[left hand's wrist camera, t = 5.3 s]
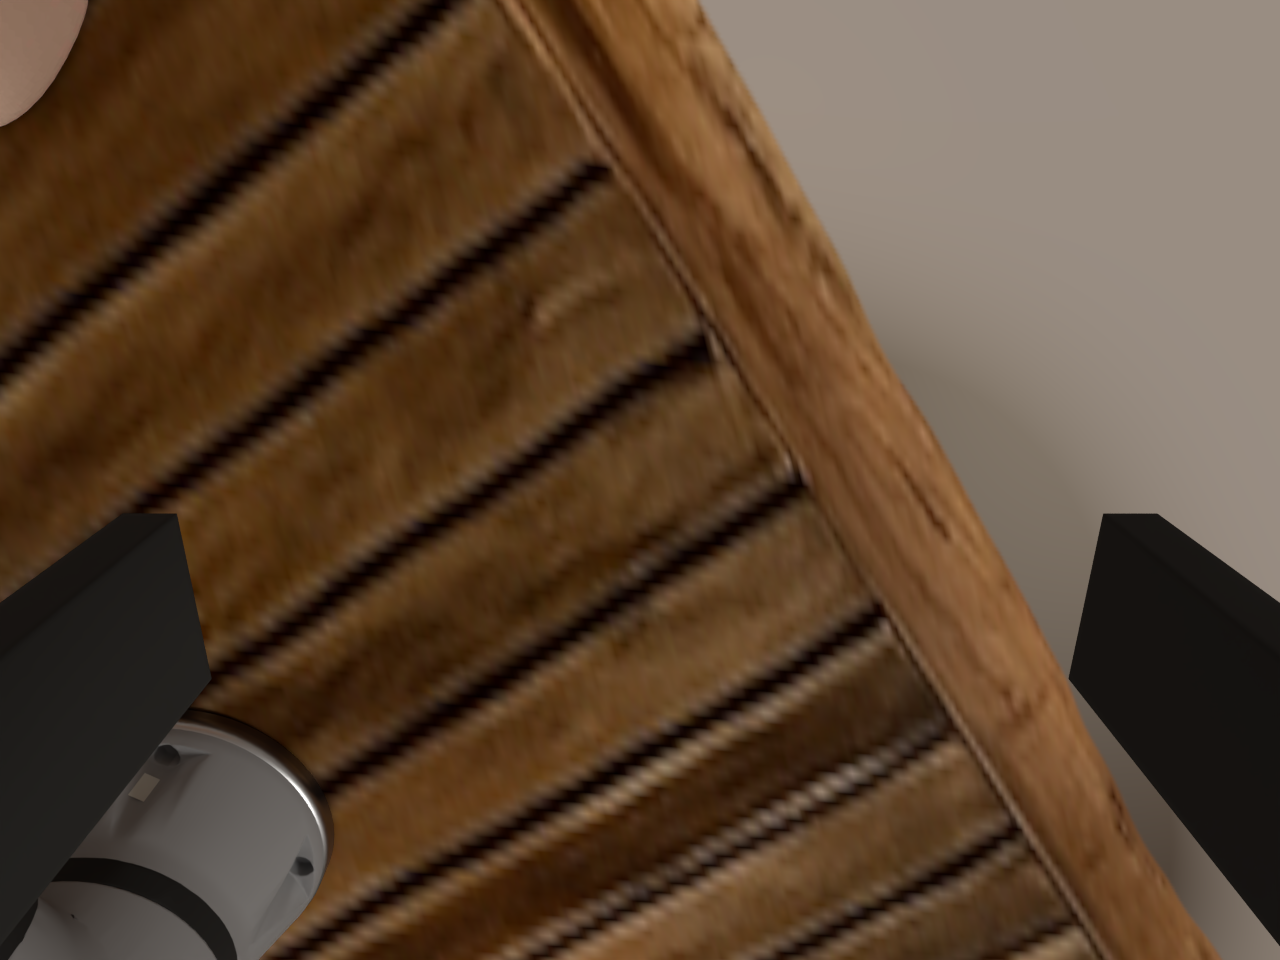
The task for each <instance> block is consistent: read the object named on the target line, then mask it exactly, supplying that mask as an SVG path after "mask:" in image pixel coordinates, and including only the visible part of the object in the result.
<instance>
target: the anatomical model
mask: <svg viewBox="0 0 1280 960" xmlns="http://www.w3.org/2000/svg"><path fill="white" fill-rule="evenodd" d="M87 6H88V0H0V127H1V126H4V125H6V124H8V123H10V122H12V121H14V120H16V119H17V118H19V117H20V116H21V115H23V114H24V113H25V112H26V111H28V110H29V109H30V108H31V107H32V106H33V105H34V104H35V103H36V102H37V101H38V100H39V99H40V98H41V97H42V95H43V94H44V93H45V91H46V90H47V89H48V87H49V86H50V85H51V83H52V82H53V81H54V79H55V77H56V76H57V74H58V72H59V71H60V69H61V67H62V65H63V64H64V62H65V60H66V59H67V57H68V55H69V52H70V50H71V48H72V46H73V44H74V42H75V40H76V38H77V36H78V33H79V31H80V28H81V25H82V23H83V20H84V17H85V14H86V10H87Z"/></svg>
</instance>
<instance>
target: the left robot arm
mask: <svg viewBox="0 0 1280 960" xmlns="http://www.w3.org/2000/svg"><path fill="white" fill-rule="evenodd" d="M210 680H211V674H210V669H209V665H208V660H207V655H206V650H205V646H204V641H203V636H202V631H201V627H200V622H199V617H198V612H197V608H196V603H195V598H194V593H193V589H192V584H191V579H190V574H189V570H188V565H187V560H186V555H185V551H184V546H183V541H182V536H181V532H180V527H179V522H178V517H177V514H121V515H120V516H119V517H117V518H116V519H115V520H113V521H112V522H111V523H109V524H108V525H106V526H105V527H104V528H102V529H101V530H100V531H98V532H97V533H95V534H94V535H93V536H91V537H90V538H89V539H87V540H86V541H84V542H83V543H82V544H80V545H79V546H78V547H76V548H75V549H73V550H72V551H71V552H69V553H68V554H67V555H65V556H64V557H62V558H61V559H60V560H58V561H57V562H56V563H54V564H53V565H52V566H50V567H49V568H47V569H46V570H45V571H43V572H42V573H41V574H39V575H38V576H36V577H35V578H34V579H32V580H31V581H30V582H28V583H27V584H25V585H24V586H23V587H21V588H20V589H19V590H17V591H16V592H14V593H13V594H12V595H10V596H9V597H8V598H6V599H5V600H3V601H2V602H1V603H0V960H258V959H259V958H260V957H261V956H262V955H263V954H264V953H265V952H266V951H267V950H268V949H269V948H270V947H271V946H272V945H273V943H274V942H275V941H276V940H277V939H278V938H279V937H280V936H281V935H282V934H283V933H284V932H285V931H286V930H287V929H288V927H289V926H290V925H291V924H292V923H293V922H294V921H295V920H296V919H297V918H298V917H299V916H300V914H301V913H302V912H303V911H304V909H305V908H306V906H307V905H308V904H309V903H310V901H311V900H312V898H313V897H314V895H315V894H316V892H317V889H318V887H319V885H320V883H321V881H322V878H323V876H324V874H325V871H326V869H327V867H328V864H329V861H330V858H331V855H332V851H333V845H334V826H333V820H332V815H331V811H330V808H329V805H328V802H327V800H326V798H325V796H324V793H323V792H322V790H321V788H320V786H319V785H318V783H317V781H316V780H315V779H314V777H313V776H312V775H311V773H310V772H309V771H308V770H307V769H306V767H305V766H304V765H303V764H302V763H301V762H300V761H299V760H298V759H297V758H296V757H295V756H294V755H293V754H292V753H290V752H289V751H288V750H287V749H285V748H284V747H283V746H282V745H280V744H279V743H277V742H276V741H274V740H273V739H272V738H270V737H268V736H267V735H265V734H263V733H261V732H260V731H258V730H256V729H254V728H251V727H249V726H247V725H245V724H243V723H240V722H237V721H235V720H232V719H229V718H226V717H222V716H219V715H215V714H211V713H206V712H200V711H193V710H187V709H188V708H189V707H190V705H191V704H192V703H193V701H194V700H195V699H196V698H197V696H198V695H199V694H200V693H201V691H202V690H203V689H204V688H205V686H206V685H207V684H208V682H209V681H210ZM1069 680H1070V681H1071V682H1072V684H1073V685H1074V686H1075V688H1076V689H1077V690H1078V691H1079V693H1080V694H1081V695H1082V696H1083V698H1084V699H1085V700H1086V701H1087V703H1088V704H1089V705H1090V706H1091V708H1092V709H1093V710H1094V712H1095V713H1096V714H1097V715H1098V717H1099V718H1100V719H1101V720H1102V722H1103V723H1104V724H1105V726H1106V727H1107V728H1108V729H1109V731H1110V732H1111V733H1112V734H1113V736H1114V737H1115V738H1116V739H1117V741H1118V742H1119V743H1120V744H1121V746H1122V747H1123V748H1124V750H1125V751H1126V752H1127V753H1128V755H1129V756H1130V757H1131V758H1132V760H1133V761H1134V762H1135V763H1136V765H1137V766H1138V767H1139V768H1140V770H1141V771H1142V772H1143V773H1144V775H1145V776H1146V777H1147V779H1148V780H1149V781H1150V782H1151V784H1152V785H1153V786H1154V787H1155V789H1156V790H1157V791H1158V793H1159V794H1160V795H1161V796H1162V798H1163V799H1164V800H1165V801H1166V803H1167V804H1168V805H1169V806H1170V808H1171V809H1172V810H1173V812H1174V813H1175V814H1176V815H1177V817H1178V818H1179V819H1180V820H1181V822H1182V823H1183V824H1184V825H1185V827H1186V828H1187V829H1188V830H1189V832H1190V833H1191V834H1192V836H1193V837H1194V838H1195V839H1196V841H1197V842H1198V843H1199V844H1200V846H1201V847H1202V848H1203V849H1204V851H1205V852H1206V853H1207V854H1208V856H1209V857H1210V858H1211V860H1212V861H1213V862H1214V863H1215V865H1216V866H1217V867H1218V868H1219V870H1220V871H1221V872H1222V873H1223V875H1224V876H1225V877H1226V879H1227V880H1228V881H1229V882H1230V884H1231V885H1232V886H1233V887H1234V889H1235V890H1236V891H1237V892H1238V894H1239V895H1240V896H1241V897H1242V899H1243V900H1244V901H1245V903H1246V904H1247V905H1248V906H1249V908H1250V909H1251V910H1252V911H1253V913H1254V914H1255V915H1256V917H1257V918H1258V919H1259V920H1260V922H1261V923H1262V924H1263V925H1264V927H1265V928H1266V929H1267V930H1268V932H1269V933H1270V934H1271V935H1272V937H1273V938H1274V939H1275V941H1276V942H1277V943H1278V944H1279V946H1280V603H1279V602H1278V601H1276V600H1275V599H1274V598H1272V597H1271V596H1270V595H1268V594H1267V593H1266V592H1264V591H1263V590H1261V589H1260V588H1259V587H1257V586H1256V585H1255V584H1253V583H1252V582H1250V581H1249V580H1248V579H1246V578H1245V577H1243V576H1242V575H1241V574H1239V573H1238V572H1237V571H1235V570H1234V569H1233V568H1231V567H1230V566H1228V565H1227V564H1226V563H1224V562H1223V561H1222V560H1220V559H1219V558H1217V557H1216V556H1215V555H1213V554H1212V553H1211V552H1209V551H1208V550H1207V549H1205V548H1204V547H1202V546H1201V545H1200V544H1198V543H1197V542H1196V541H1194V540H1193V539H1191V538H1190V537H1189V536H1187V535H1186V534H1185V533H1183V532H1182V531H1180V530H1179V529H1178V528H1176V527H1175V526H1174V525H1172V524H1171V523H1169V522H1168V521H1167V520H1165V519H1164V518H1163V517H1161V516H1160V515H1159V514H1103V517H1102V522H1101V527H1100V532H1099V536H1098V541H1097V546H1096V551H1095V555H1094V560H1093V565H1092V570H1091V574H1090V579H1089V584H1088V589H1087V593H1086V598H1085V603H1084V608H1083V613H1082V617H1081V622H1080V627H1079V632H1078V636H1077V641H1076V646H1075V651H1074V655H1073V660H1072V665H1071V669H1070V674H1069Z"/></svg>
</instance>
